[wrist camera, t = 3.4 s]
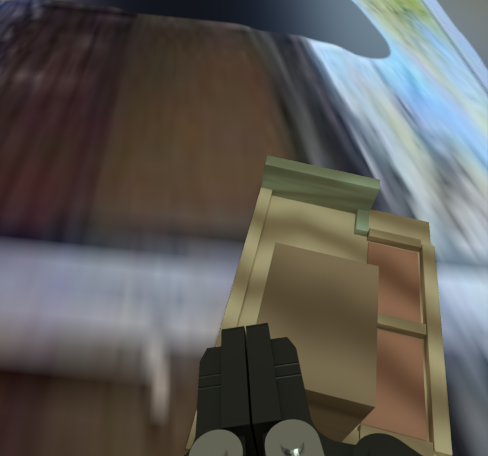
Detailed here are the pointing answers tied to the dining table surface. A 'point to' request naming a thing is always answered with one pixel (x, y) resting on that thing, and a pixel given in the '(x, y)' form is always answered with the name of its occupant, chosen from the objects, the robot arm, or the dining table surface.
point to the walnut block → (327, 331)
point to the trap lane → (389, 290)
